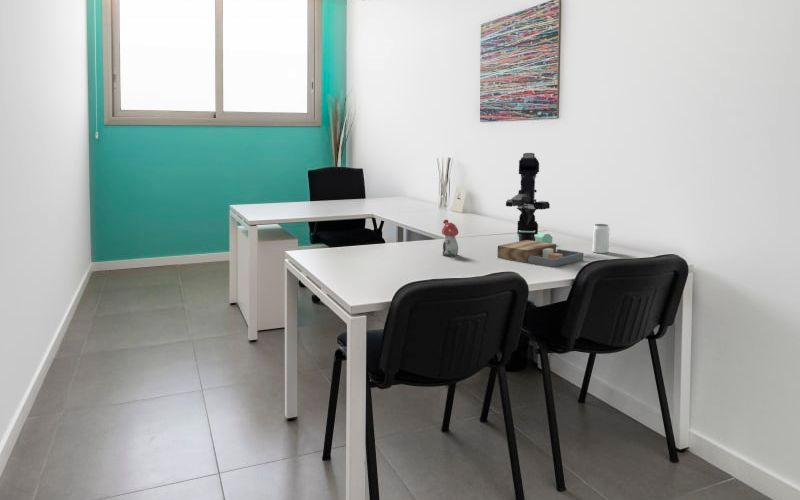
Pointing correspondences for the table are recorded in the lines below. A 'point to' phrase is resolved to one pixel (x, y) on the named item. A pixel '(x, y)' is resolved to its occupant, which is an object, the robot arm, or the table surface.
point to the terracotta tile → (555, 256)
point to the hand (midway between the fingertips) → (526, 224)
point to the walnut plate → (523, 250)
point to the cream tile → (547, 252)
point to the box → (566, 259)
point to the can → (600, 238)
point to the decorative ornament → (450, 239)
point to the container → (542, 237)
